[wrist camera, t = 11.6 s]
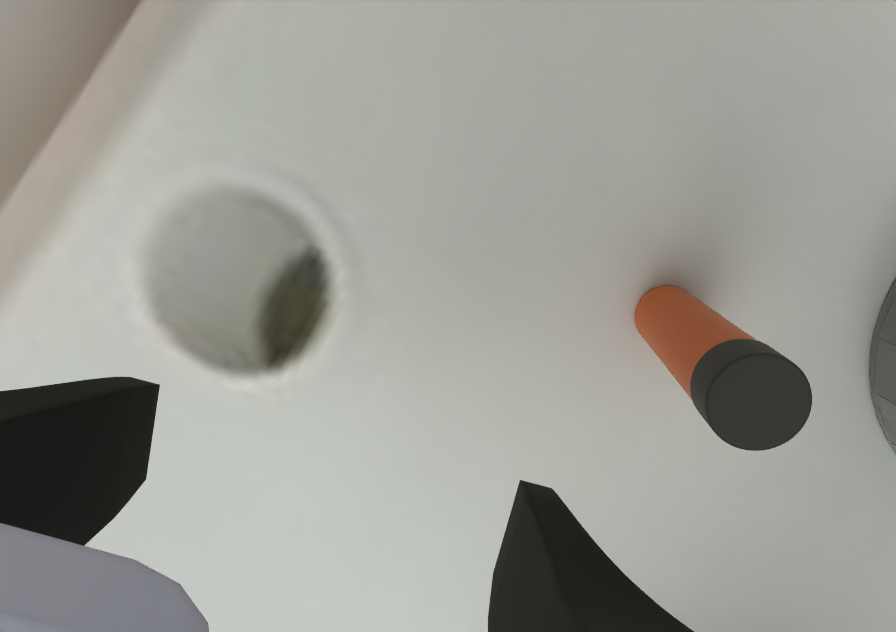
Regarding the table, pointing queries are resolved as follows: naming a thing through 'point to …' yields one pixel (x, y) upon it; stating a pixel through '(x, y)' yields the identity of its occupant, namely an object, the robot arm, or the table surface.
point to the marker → (725, 370)
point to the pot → (885, 367)
